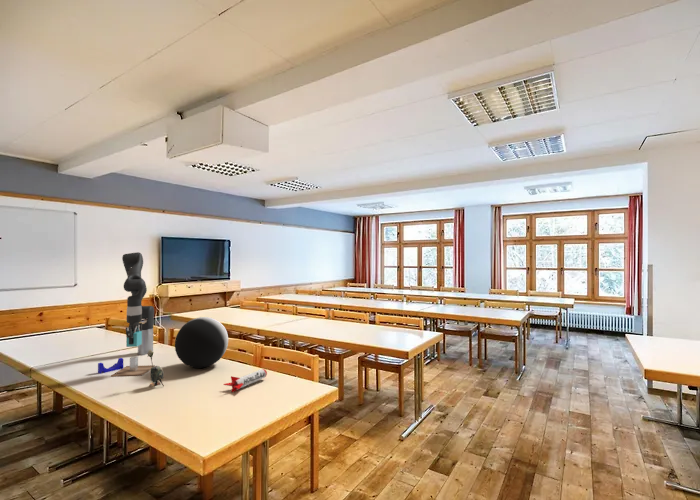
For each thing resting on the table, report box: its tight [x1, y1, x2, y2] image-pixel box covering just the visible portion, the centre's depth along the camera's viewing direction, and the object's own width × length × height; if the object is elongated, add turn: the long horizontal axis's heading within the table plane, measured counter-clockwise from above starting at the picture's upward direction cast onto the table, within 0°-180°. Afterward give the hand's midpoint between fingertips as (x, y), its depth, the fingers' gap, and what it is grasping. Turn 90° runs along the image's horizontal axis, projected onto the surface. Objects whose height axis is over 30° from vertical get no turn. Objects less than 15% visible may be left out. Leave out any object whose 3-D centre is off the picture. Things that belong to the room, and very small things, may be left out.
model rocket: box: [223, 368, 268, 393], centre depth 177 cm, size 11×23×10 cm, turn 149°
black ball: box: [174, 316, 229, 369], centre depth 211 cm, size 30×30×30 cm
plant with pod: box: [146, 350, 165, 387], centre depth 177 cm, size 8×11×20 cm
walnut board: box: [110, 364, 156, 378], centre depth 200 cm, size 16×16×1 cm
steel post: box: [129, 355, 139, 371], centre depth 200 cm, size 3×3×8 cm
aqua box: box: [125, 331, 142, 348], centre depth 200 cm, size 6×6×8 cm
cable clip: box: [97, 357, 124, 375], centre depth 203 cm, size 12×4×6 cm, turn 147°
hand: (134, 342), depth 200 cm, fingers closed on aqua box, 5 cm apart
